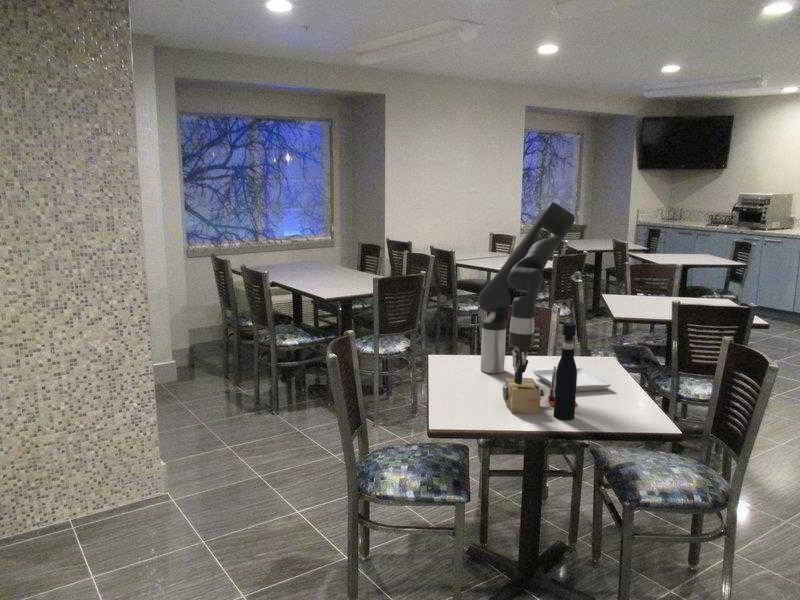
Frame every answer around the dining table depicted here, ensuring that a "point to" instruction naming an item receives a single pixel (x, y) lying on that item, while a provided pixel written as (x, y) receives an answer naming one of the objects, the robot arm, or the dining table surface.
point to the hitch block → (523, 397)
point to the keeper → (526, 385)
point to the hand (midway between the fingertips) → (517, 383)
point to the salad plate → (578, 380)
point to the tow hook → (552, 390)
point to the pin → (505, 392)
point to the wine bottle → (566, 377)
